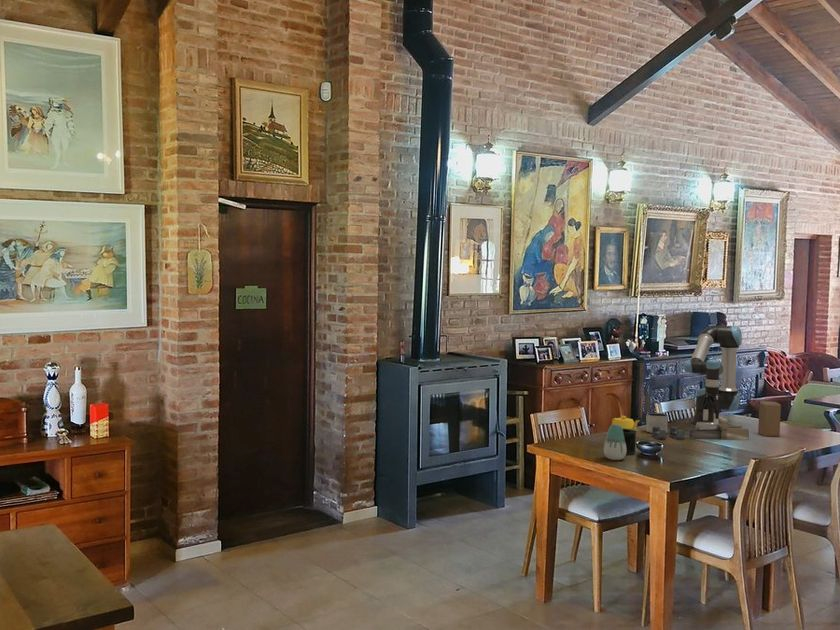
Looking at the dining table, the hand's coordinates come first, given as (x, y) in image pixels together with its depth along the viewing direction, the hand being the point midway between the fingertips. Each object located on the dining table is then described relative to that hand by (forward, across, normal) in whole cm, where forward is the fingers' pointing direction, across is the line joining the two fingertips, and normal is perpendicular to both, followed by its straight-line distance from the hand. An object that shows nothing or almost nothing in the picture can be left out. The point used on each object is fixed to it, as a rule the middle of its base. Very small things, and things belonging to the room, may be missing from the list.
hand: (710, 422), depth 478 cm
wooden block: (+9, -10, +42) cm, 45 cm away
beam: (+9, 0, +6) cm, 11 cm away
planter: (+10, -17, -26) cm, 33 cm away
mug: (+11, +38, -67) cm, 77 cm away
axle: (+2, 0, +1) cm, 3 cm away
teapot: (+10, 0, -52) cm, 53 cm away
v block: (+10, 0, -26) cm, 27 cm away
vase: (+11, +54, -77) cm, 94 cm away
